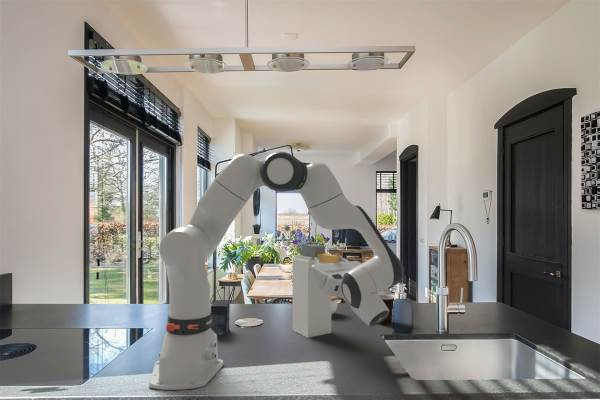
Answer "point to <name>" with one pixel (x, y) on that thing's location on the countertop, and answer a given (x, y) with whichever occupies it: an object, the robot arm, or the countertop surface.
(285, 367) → the countertop surface
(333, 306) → the lidded jar
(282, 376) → the countertop surface
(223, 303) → the box
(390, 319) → the coffee mug
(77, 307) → the countertop surface
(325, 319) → the tall grey pillar
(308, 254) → the grey and orange bar
